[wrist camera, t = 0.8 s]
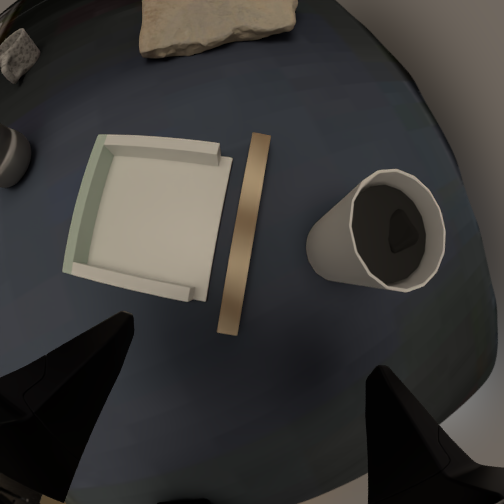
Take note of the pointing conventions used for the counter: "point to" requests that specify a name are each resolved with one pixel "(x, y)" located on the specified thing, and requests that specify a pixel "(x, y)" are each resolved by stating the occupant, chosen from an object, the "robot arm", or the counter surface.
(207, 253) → the tray
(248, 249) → the oak rail
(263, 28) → the beige flat stone slab
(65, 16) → the counter surface
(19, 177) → the plastic bottle
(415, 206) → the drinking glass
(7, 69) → the mug
